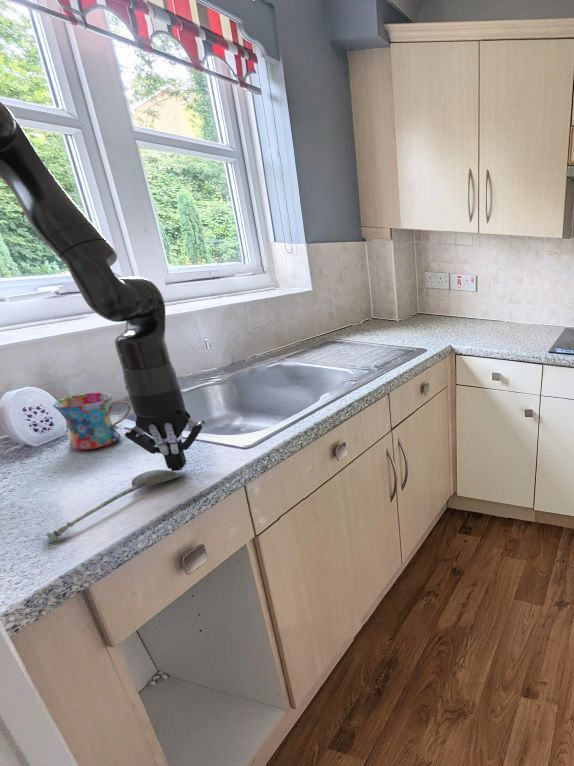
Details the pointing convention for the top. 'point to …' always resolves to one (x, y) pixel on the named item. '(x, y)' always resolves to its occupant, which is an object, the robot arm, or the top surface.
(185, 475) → the top surface
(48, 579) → the top surface
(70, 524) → the soupspoon
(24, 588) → the top surface
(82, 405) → the mug
